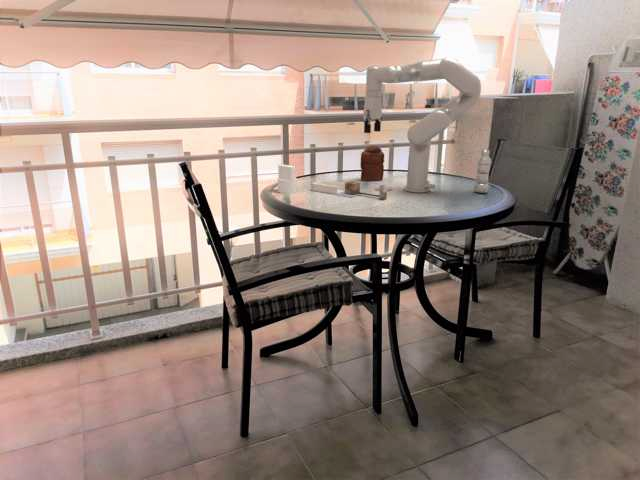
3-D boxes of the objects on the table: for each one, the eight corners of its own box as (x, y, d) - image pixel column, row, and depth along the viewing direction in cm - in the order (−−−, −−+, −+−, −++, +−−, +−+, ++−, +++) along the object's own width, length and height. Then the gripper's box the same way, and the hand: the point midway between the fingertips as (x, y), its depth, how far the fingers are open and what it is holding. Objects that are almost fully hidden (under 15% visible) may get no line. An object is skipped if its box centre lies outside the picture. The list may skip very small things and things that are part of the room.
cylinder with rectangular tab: (300, 191, 223) (300, 165, 219) (286, 194, 217) (286, 168, 213) (287, 188, 229) (287, 163, 225) (273, 191, 222) (273, 165, 219)
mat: (364, 192, 221) (364, 192, 221) (351, 197, 211) (351, 196, 211) (349, 190, 225) (349, 189, 225) (335, 195, 216) (335, 194, 216)
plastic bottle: (488, 192, 224) (493, 149, 217) (486, 195, 218) (492, 151, 212) (474, 190, 226) (479, 148, 220) (472, 193, 220) (477, 150, 214)
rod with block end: (388, 197, 210) (389, 184, 208) (383, 199, 206) (384, 186, 205) (350, 191, 221) (350, 179, 219) (344, 193, 217) (345, 181, 215)
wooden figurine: (380, 178, 253) (381, 144, 247) (383, 181, 247) (385, 146, 241) (358, 179, 251) (359, 145, 245) (362, 181, 245) (363, 146, 239)
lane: (347, 190, 225) (347, 183, 224) (335, 194, 217) (336, 186, 216) (322, 186, 232) (323, 179, 231) (311, 190, 224) (311, 183, 223)
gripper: (375, 94, 229) (374, 130, 235) (357, 94, 216) (356, 133, 221) (389, 94, 225) (387, 131, 231) (372, 95, 212) (370, 134, 217)
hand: (372, 132), depth 226 cm, fingers open, 9 cm apart
